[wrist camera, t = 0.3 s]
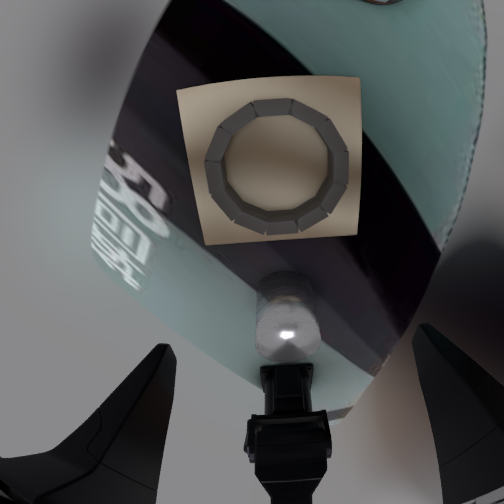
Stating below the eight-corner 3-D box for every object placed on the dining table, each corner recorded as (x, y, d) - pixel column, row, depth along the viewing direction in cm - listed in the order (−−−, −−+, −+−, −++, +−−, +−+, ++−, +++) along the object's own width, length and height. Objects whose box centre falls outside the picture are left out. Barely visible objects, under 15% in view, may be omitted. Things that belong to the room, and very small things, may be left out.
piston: (310, 309, 26) (318, 359, 21) (259, 313, 27) (258, 364, 22) (312, 268, 24) (323, 319, 19) (254, 272, 24) (252, 325, 19)
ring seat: (354, 231, 21) (363, 246, 19) (206, 241, 22) (201, 258, 20) (356, 77, 15) (369, 76, 13) (178, 90, 16) (167, 90, 14)
